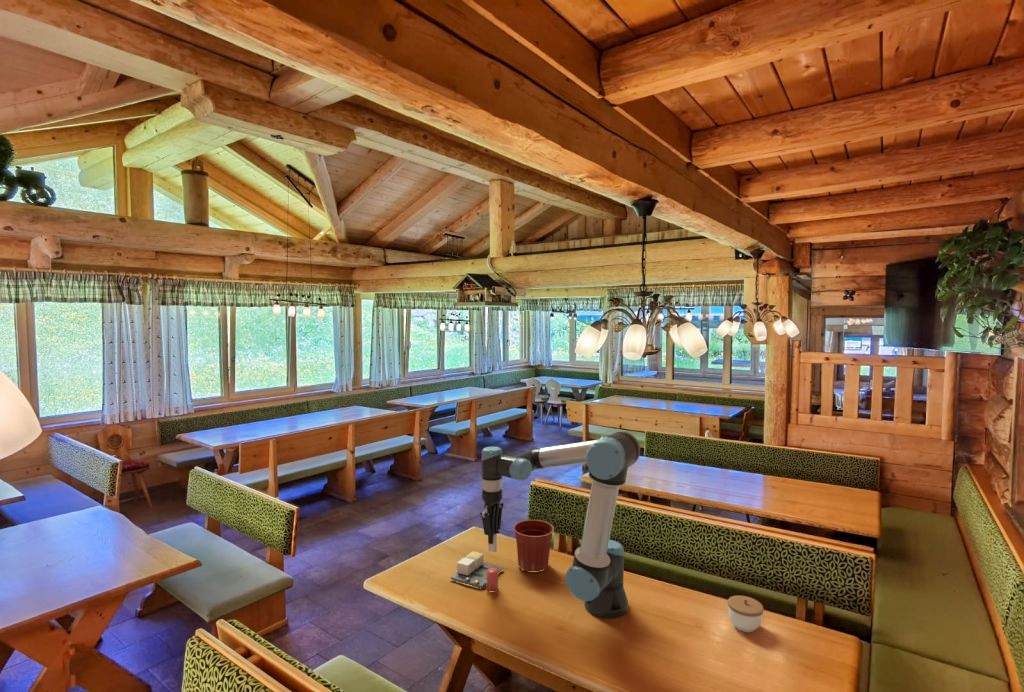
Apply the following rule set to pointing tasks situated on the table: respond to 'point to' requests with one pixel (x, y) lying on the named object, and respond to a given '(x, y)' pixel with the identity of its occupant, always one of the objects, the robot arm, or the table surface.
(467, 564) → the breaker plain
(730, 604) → the lidded jar
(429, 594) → the table surface
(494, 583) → the lockout cap
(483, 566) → the panel
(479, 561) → the block
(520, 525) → the flower pot
